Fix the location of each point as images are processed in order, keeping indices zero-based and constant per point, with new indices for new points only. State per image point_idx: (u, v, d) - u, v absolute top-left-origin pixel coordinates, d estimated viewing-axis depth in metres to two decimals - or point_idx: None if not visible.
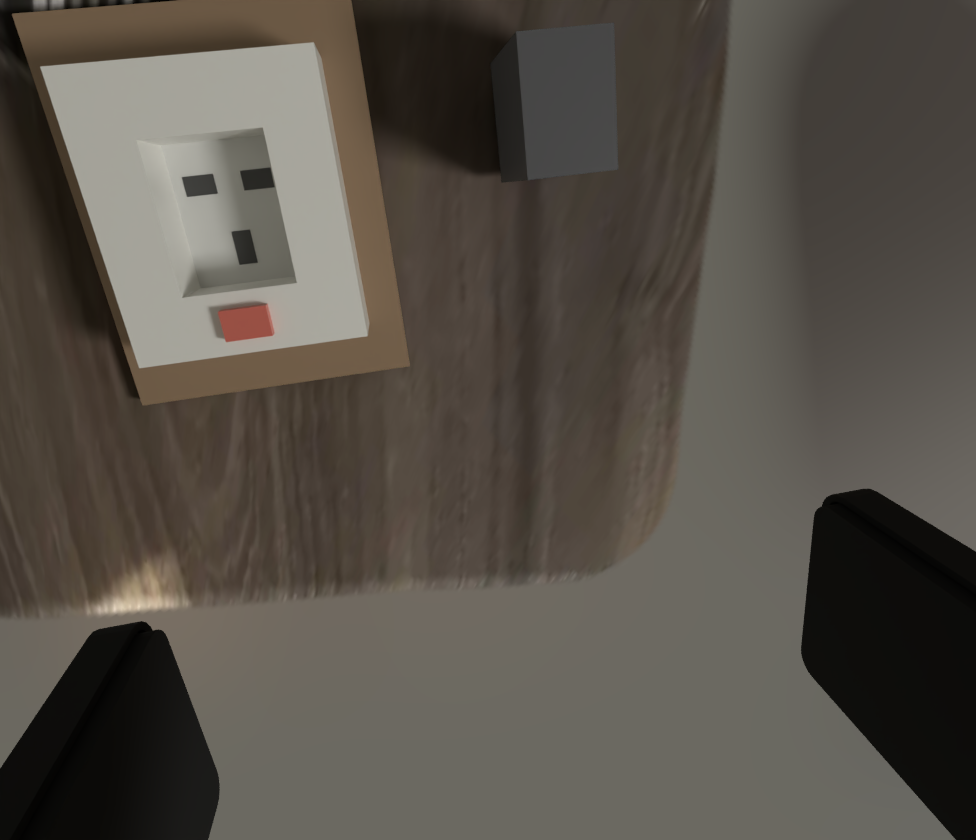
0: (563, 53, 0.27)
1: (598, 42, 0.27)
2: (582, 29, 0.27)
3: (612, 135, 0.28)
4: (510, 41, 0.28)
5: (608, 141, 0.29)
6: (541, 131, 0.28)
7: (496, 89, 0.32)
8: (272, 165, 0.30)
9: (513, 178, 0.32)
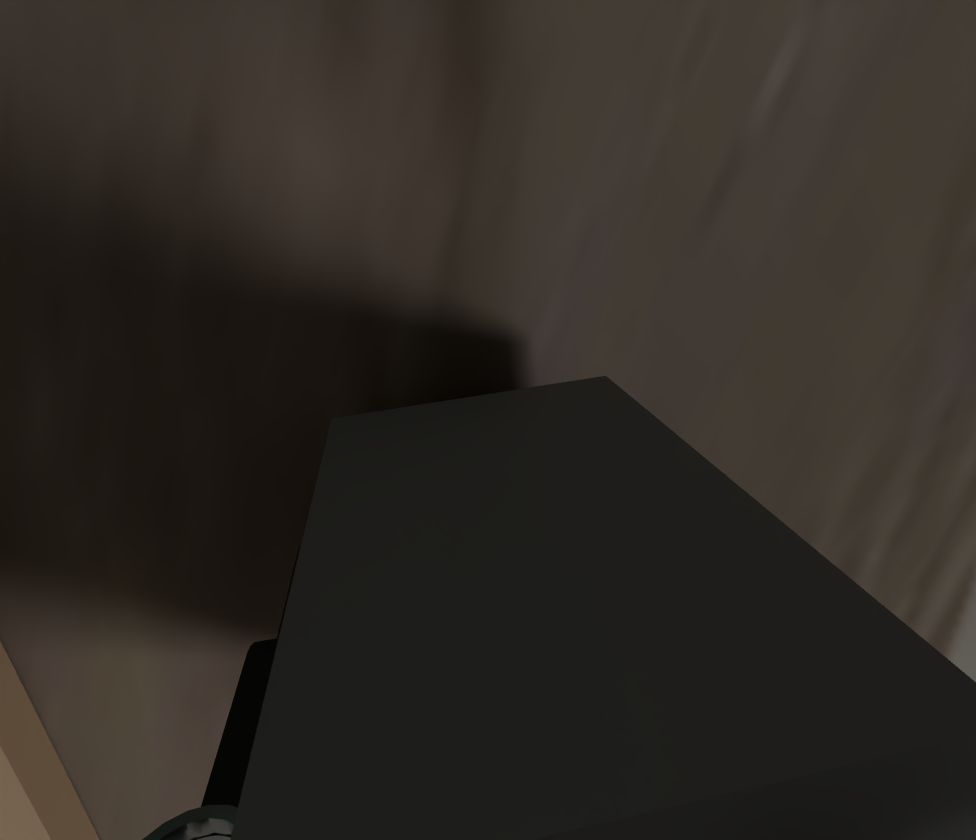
0: None
1: (888, 837, 0.04)
2: (784, 802, 0.03)
3: None
4: None
5: None
6: None
7: None
8: None
9: None
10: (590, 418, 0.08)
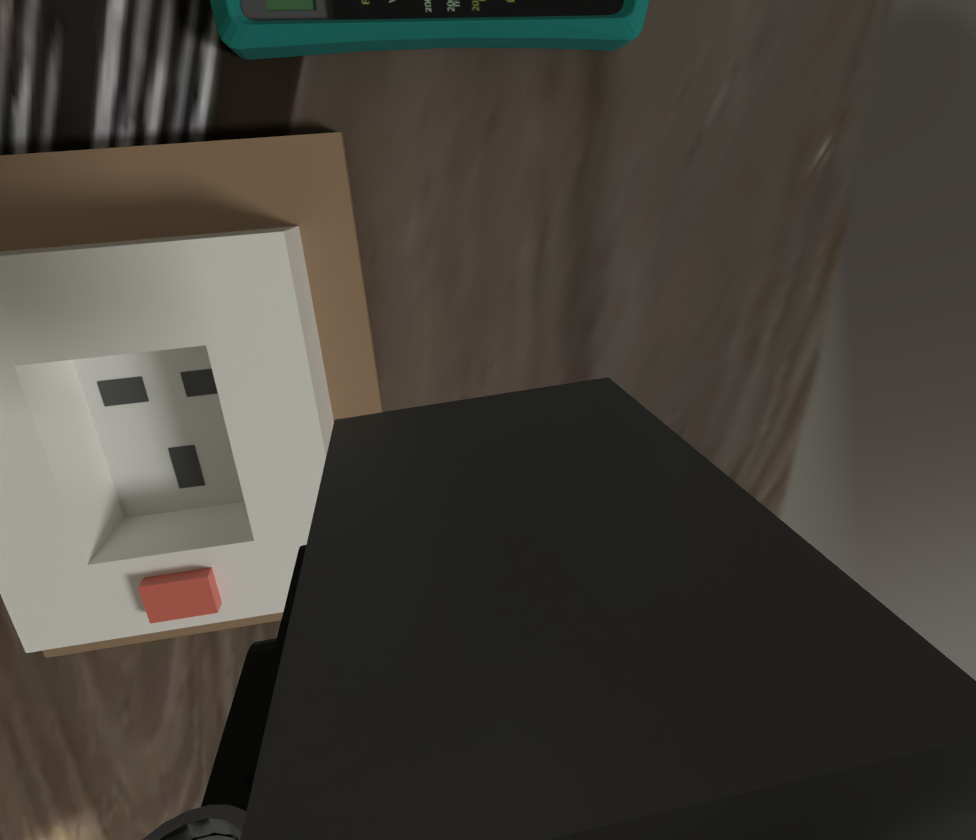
0: None
1: (893, 839, 0.04)
2: (790, 804, 0.03)
3: None
4: None
5: None
6: None
7: None
8: (220, 394, 0.21)
9: None
10: (593, 420, 0.08)
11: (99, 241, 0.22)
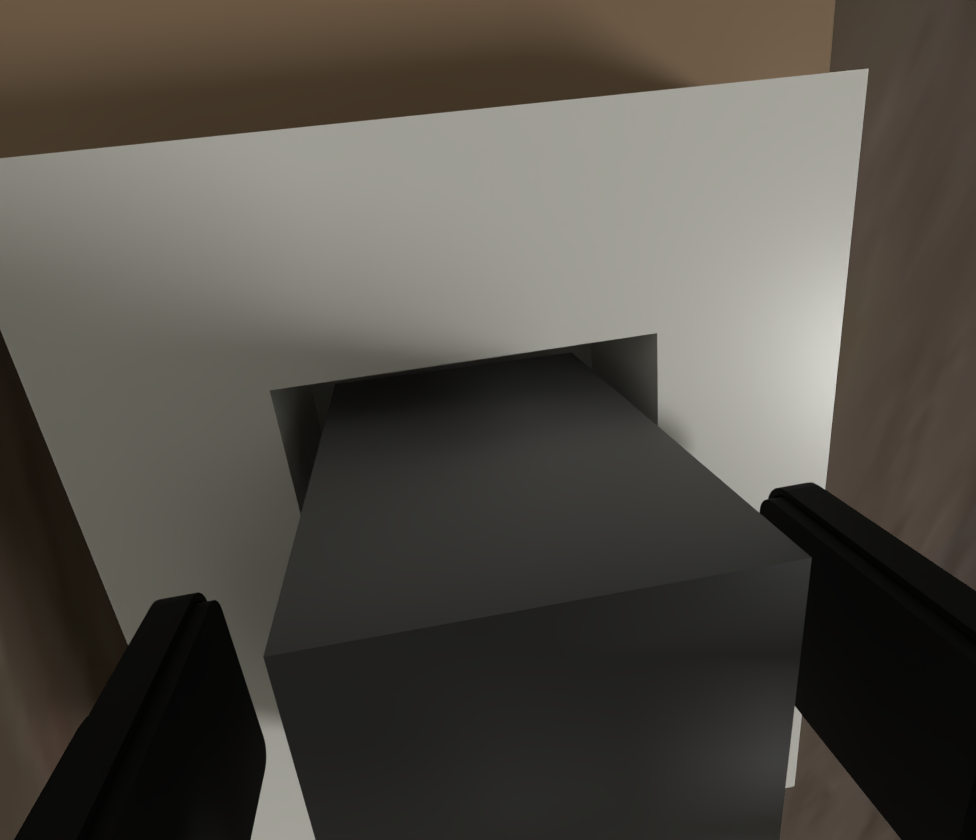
0: (542, 705, 0.05)
1: (723, 641, 0.05)
2: (644, 604, 0.05)
3: None
4: None
5: None
6: None
7: None
8: None
9: None
10: (552, 383, 0.10)
11: None
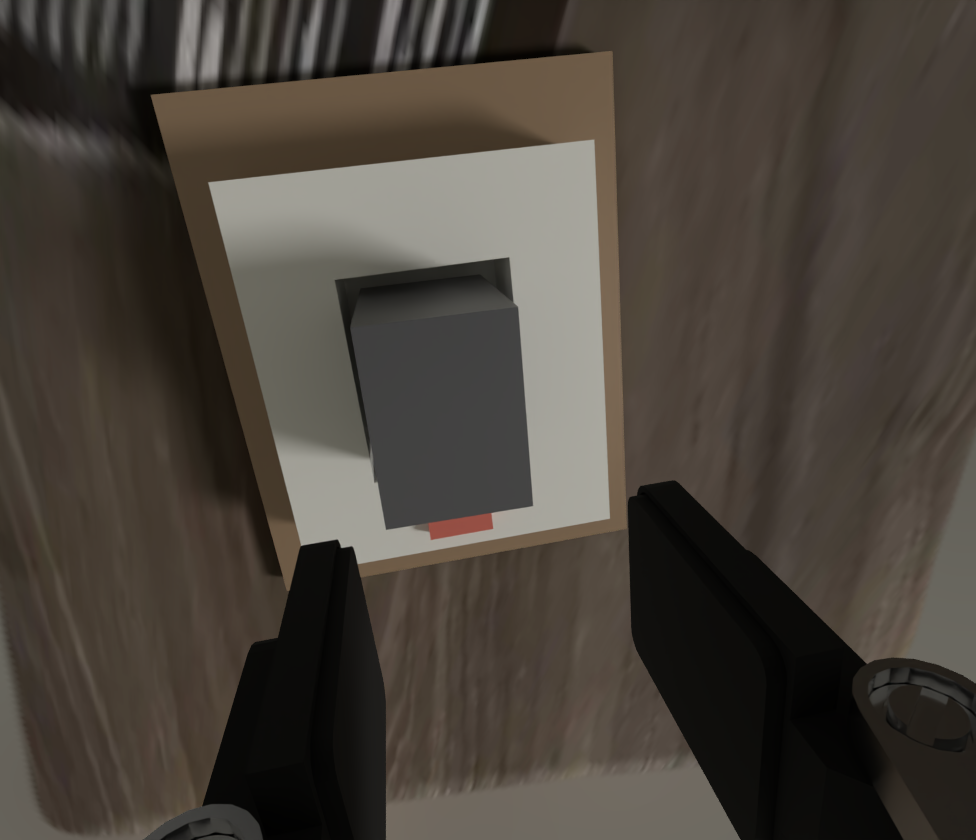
0: (435, 354, 0.16)
1: (493, 336, 0.16)
2: (464, 319, 0.16)
3: (522, 462, 0.18)
4: None
5: (515, 470, 0.18)
6: (404, 464, 0.17)
7: None
8: None
9: None
10: (464, 282, 0.21)
11: None
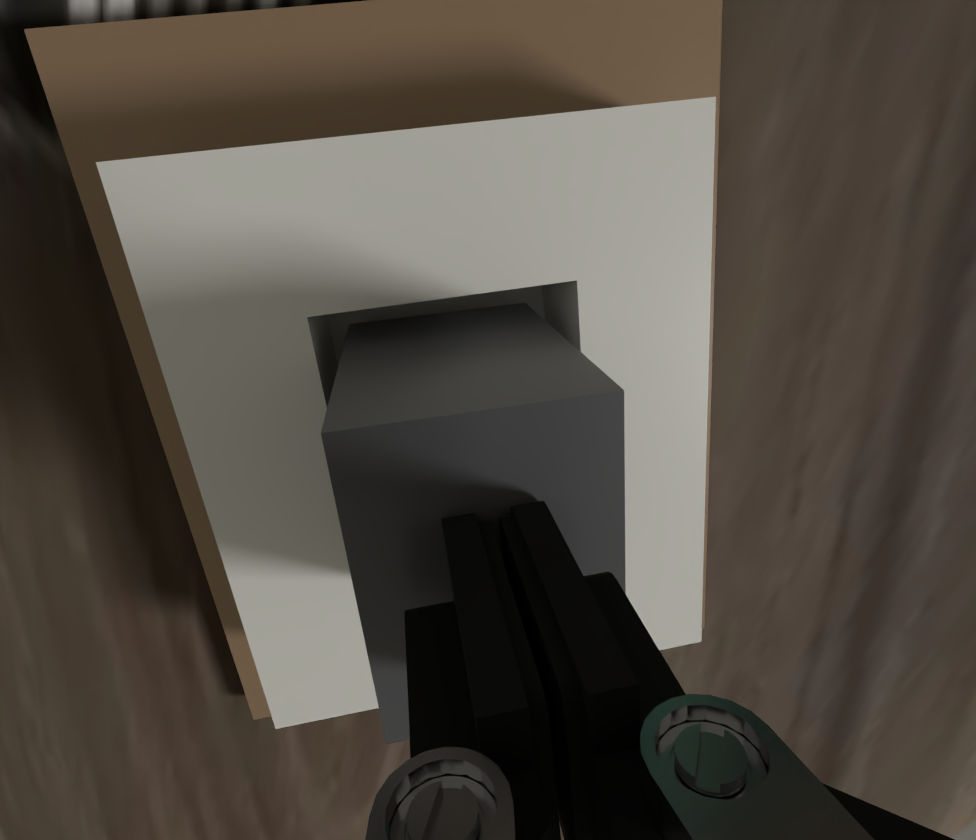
0: (473, 474, 0.09)
1: (577, 440, 0.09)
2: (528, 413, 0.09)
3: None
4: None
5: None
6: None
7: None
8: None
9: None
10: (505, 320, 0.14)
11: None
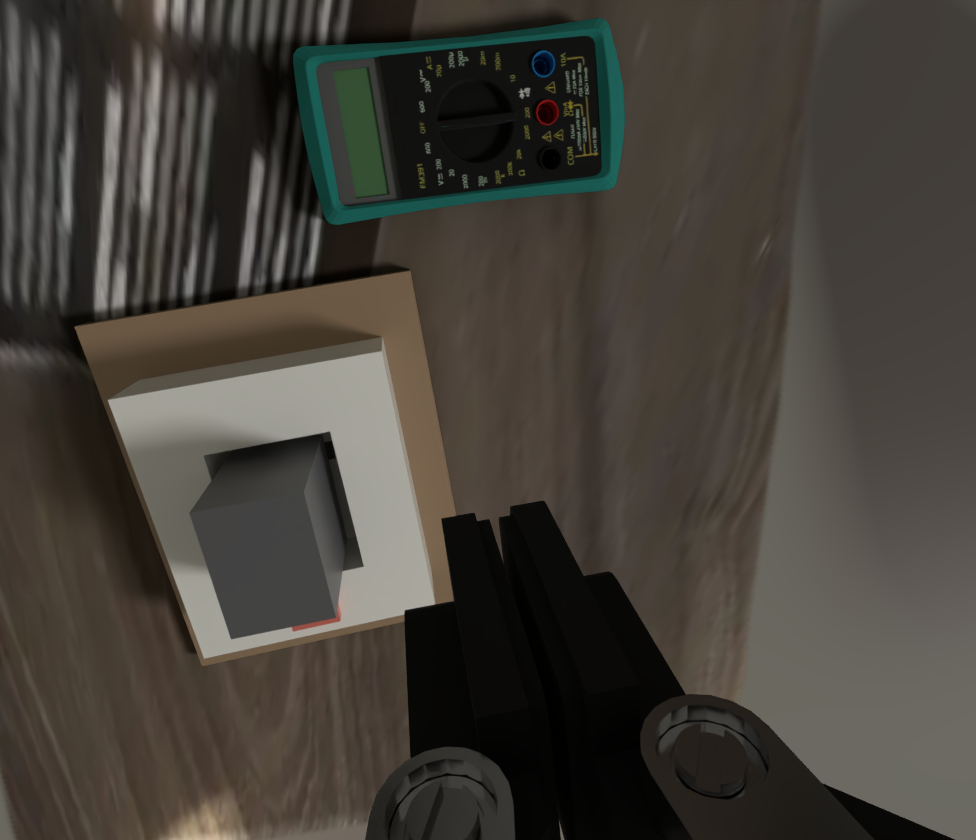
0: (250, 525, 0.24)
1: (289, 511, 0.24)
2: (267, 502, 0.24)
3: (323, 589, 0.26)
4: (199, 501, 0.25)
5: (319, 595, 0.26)
6: (238, 595, 0.25)
7: None
8: (339, 464, 0.29)
9: None
10: (301, 448, 0.29)
11: (245, 360, 0.30)
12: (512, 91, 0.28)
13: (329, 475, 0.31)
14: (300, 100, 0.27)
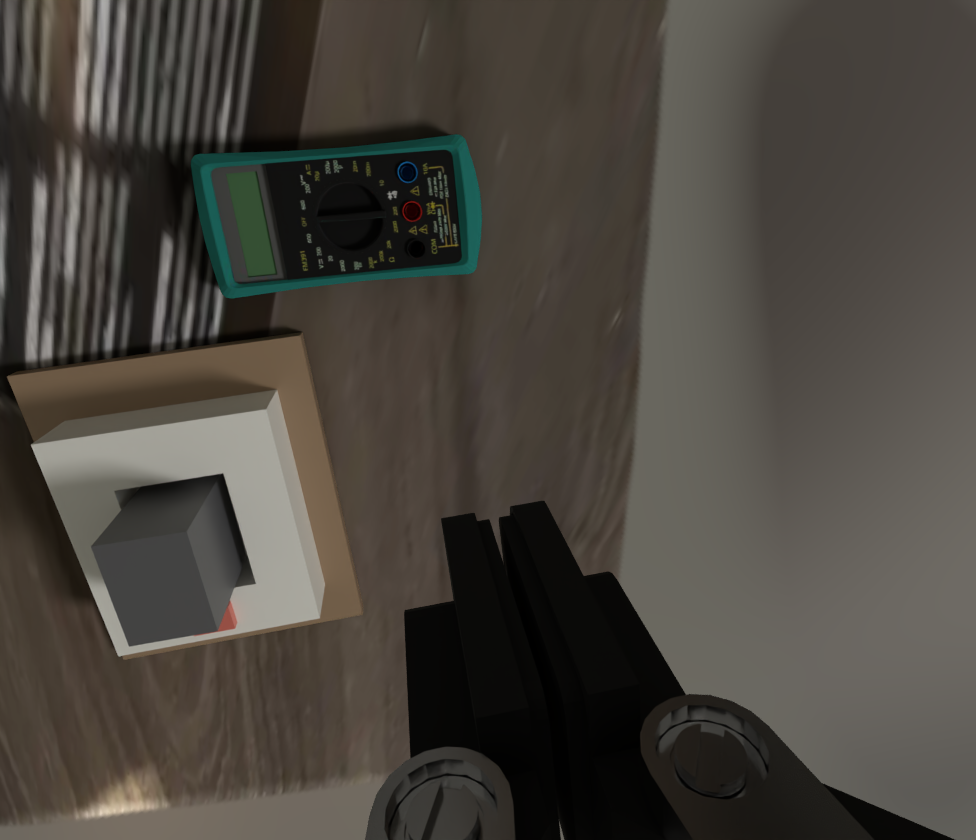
0: (142, 557, 0.30)
1: (174, 546, 0.30)
2: (156, 539, 0.29)
3: (205, 608, 0.31)
4: (102, 534, 0.30)
5: (202, 612, 0.31)
6: (133, 612, 0.31)
7: None
8: (232, 499, 0.35)
9: None
10: (200, 485, 0.34)
11: (156, 406, 0.36)
12: (381, 193, 0.33)
13: (227, 506, 0.36)
14: (197, 197, 0.31)
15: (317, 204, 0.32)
